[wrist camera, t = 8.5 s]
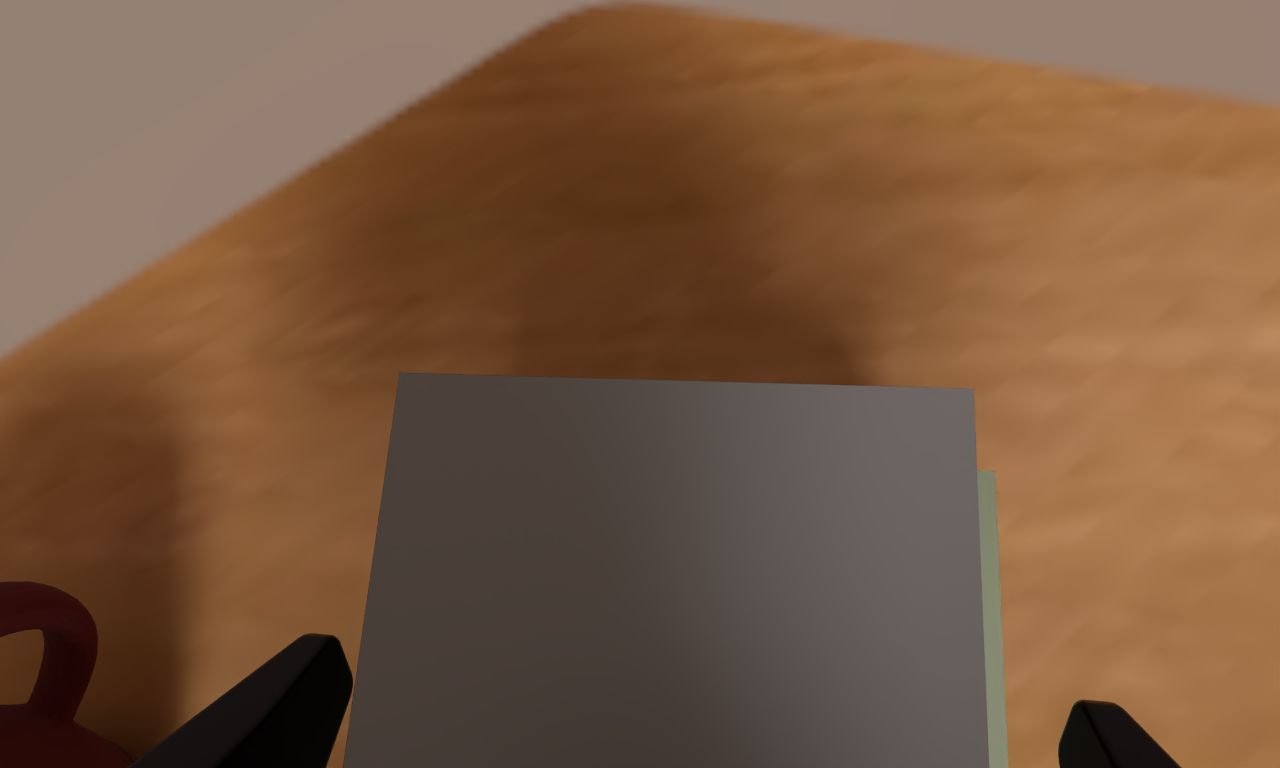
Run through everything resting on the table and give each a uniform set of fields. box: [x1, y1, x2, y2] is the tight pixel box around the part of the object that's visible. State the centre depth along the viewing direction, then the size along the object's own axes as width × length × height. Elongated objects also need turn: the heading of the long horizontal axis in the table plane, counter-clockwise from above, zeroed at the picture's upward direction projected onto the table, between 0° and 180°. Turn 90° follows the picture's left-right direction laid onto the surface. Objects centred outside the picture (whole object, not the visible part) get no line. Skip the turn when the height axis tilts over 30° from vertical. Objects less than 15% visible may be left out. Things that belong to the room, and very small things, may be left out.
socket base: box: [977, 470, 1008, 768], centre depth 17 cm, size 10×13×4 cm
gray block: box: [343, 373, 989, 768], centre depth 12 cm, size 6×6×12 cm
